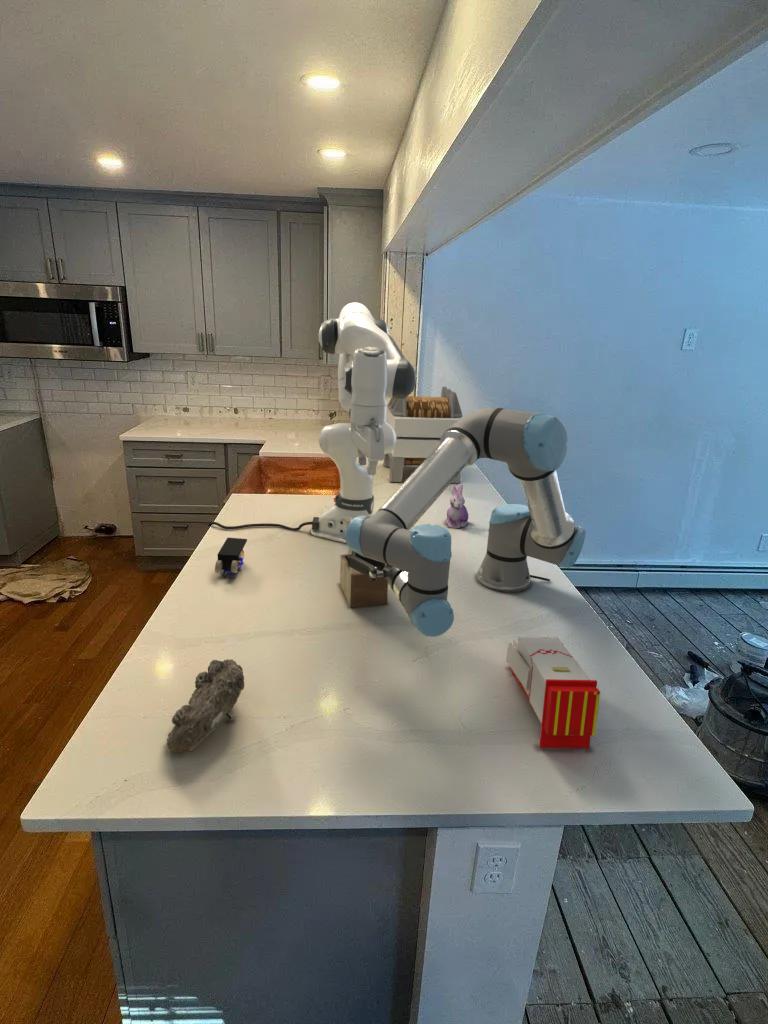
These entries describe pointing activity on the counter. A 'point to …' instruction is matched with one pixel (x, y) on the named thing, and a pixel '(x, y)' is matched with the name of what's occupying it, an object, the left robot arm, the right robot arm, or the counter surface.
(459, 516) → the figurine
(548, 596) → the counter surface
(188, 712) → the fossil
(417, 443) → the grey boxy piece
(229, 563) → the figurine character
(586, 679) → the toy
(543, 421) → the right robot arm
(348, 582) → the chest
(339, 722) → the counter surface
